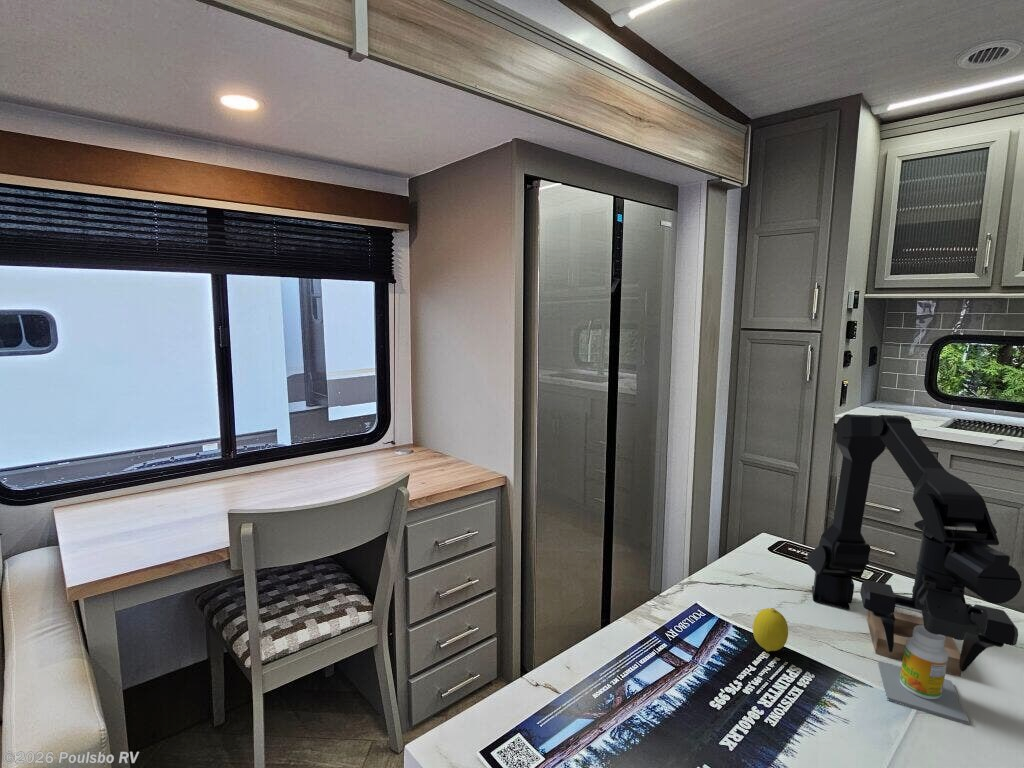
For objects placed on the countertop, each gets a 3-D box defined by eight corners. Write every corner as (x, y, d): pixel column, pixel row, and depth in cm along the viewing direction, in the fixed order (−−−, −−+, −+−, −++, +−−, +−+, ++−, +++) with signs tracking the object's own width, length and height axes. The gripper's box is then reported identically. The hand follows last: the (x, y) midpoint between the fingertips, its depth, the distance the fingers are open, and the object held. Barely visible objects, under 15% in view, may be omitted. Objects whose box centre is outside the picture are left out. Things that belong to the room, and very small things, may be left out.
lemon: (782, 645, 97) (788, 604, 96) (787, 664, 92) (793, 621, 91) (749, 638, 99) (754, 597, 98) (751, 656, 94) (757, 613, 93)
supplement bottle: (890, 677, 89) (899, 622, 88) (921, 676, 90) (930, 622, 88) (917, 701, 84) (927, 643, 82) (950, 700, 84) (960, 642, 83)
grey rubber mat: (887, 700, 84) (887, 697, 84) (877, 663, 93) (878, 660, 93) (968, 724, 80) (969, 721, 80) (950, 683, 89) (951, 680, 89)
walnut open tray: (875, 653, 96) (877, 637, 96) (866, 619, 107) (869, 605, 106) (960, 676, 91) (963, 660, 90) (942, 638, 101) (945, 623, 101)
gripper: (876, 574, 80) (861, 670, 83) (1043, 610, 72) (1021, 715, 75) (866, 545, 90) (853, 631, 93) (1012, 574, 82) (994, 668, 85)
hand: (925, 660), depth 86 cm, fingers open, 9 cm apart
